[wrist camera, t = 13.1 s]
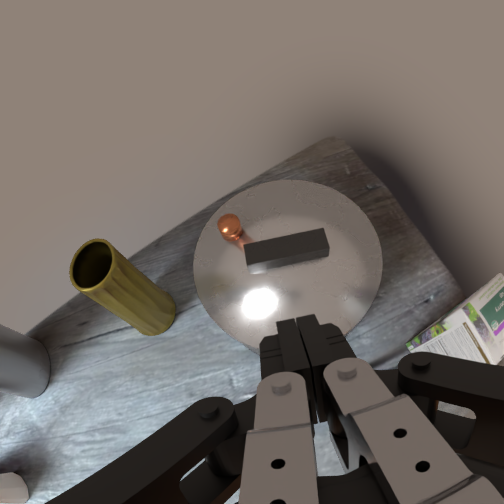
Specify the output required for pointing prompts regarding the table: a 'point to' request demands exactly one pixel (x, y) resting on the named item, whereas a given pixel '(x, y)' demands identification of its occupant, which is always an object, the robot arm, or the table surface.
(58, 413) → the table surface
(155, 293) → the vase
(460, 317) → the syrup box
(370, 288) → the pot lid
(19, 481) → the pepper shaker
